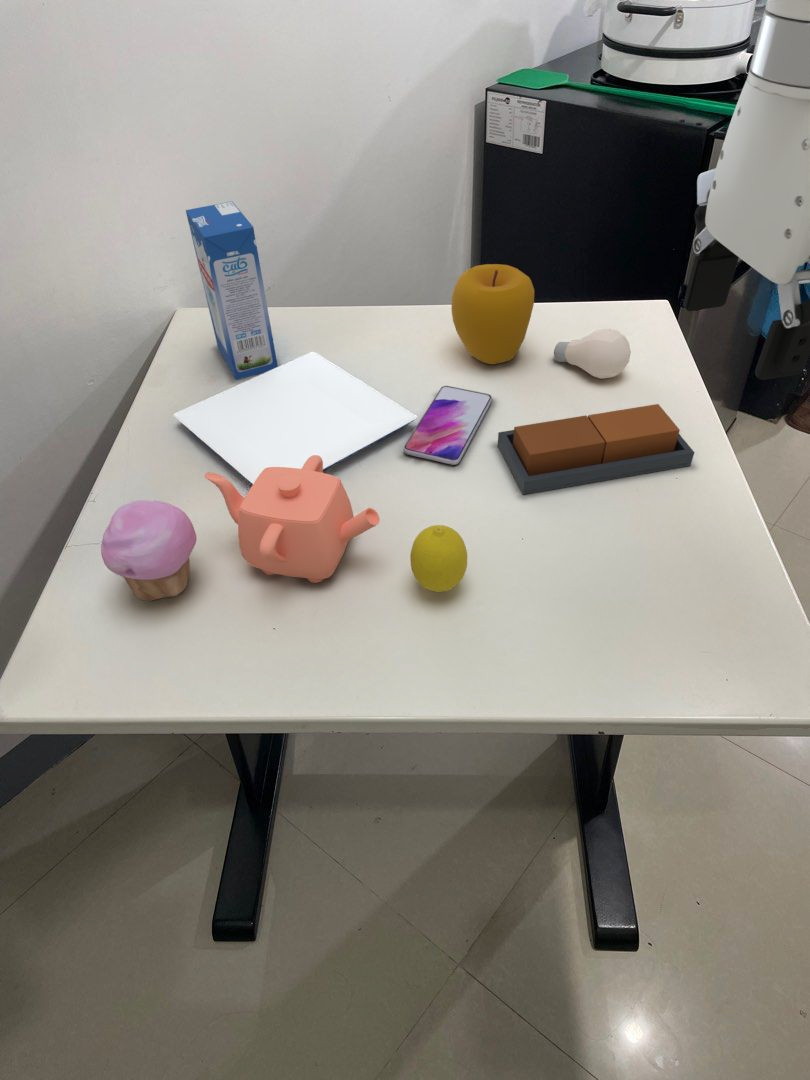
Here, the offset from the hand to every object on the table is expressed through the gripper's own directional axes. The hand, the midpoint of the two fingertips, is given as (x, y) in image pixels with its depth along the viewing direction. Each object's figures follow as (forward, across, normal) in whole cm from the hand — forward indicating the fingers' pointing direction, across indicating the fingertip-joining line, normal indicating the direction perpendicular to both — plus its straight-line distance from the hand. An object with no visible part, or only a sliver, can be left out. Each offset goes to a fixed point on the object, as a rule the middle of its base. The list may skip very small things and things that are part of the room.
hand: (738, 338), depth 52 cm
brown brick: (+28, +23, +2) cm, 36 cm away
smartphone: (+28, +33, +12) cm, 45 cm away
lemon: (+28, +7, +20) cm, 36 cm away
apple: (+28, +48, +2) cm, 56 cm away
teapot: (+28, +15, +33) cm, 46 cm away
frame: (+28, +23, -3) cm, 37 cm away
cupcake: (+28, +14, +47) cm, 57 cm away
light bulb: (+28, +41, -10) cm, 51 cm away
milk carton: (+28, +57, +36) cm, 73 cm away
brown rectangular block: (+28, +23, -8) cm, 37 cm away
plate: (+28, +38, +31) cm, 57 cm away
